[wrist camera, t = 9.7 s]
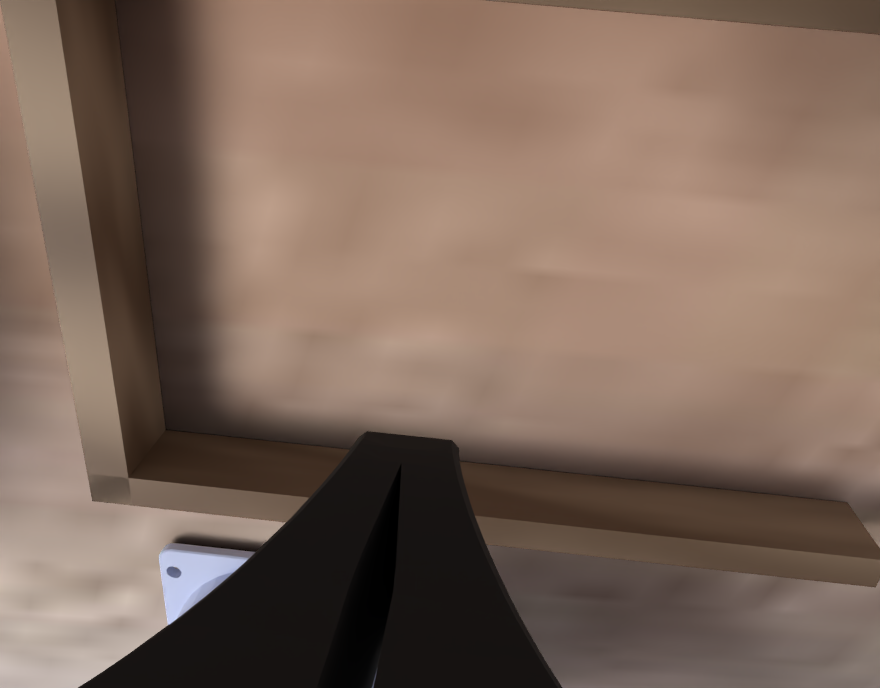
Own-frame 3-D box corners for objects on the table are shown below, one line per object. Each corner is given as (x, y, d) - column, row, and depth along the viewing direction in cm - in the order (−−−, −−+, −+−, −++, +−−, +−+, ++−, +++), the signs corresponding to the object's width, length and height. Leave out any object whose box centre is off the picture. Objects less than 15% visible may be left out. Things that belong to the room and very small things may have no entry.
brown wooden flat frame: (836, 527, 22) (875, 586, 20) (132, 451, 23) (92, 500, 20) (1063, -2, 15) (1161, -2, 13) (54, -86, 16) (-19, -102, 14)
